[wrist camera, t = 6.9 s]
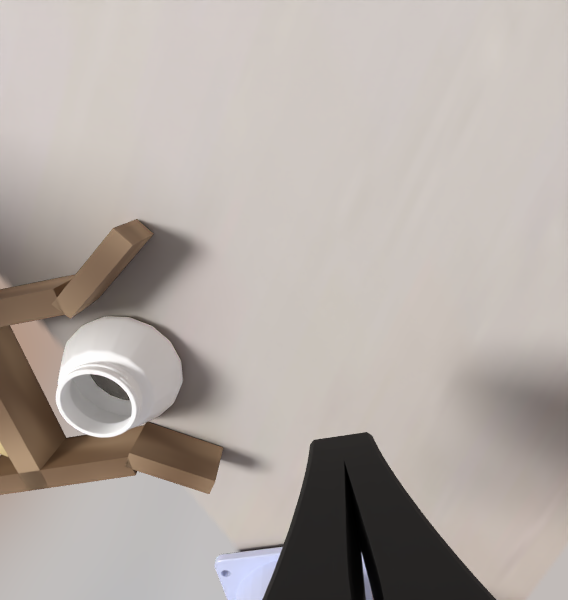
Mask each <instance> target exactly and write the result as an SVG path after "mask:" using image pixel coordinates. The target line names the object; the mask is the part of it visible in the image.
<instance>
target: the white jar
mask: <svg viewBox="0 0 568 600" xmlns="http://www.w3.org/2000/svg"><path fill="white" fill-rule="evenodd" d="M90 374H95V375H101V376H104V377H106V378H109V379H111V380H113V381H114V382H116V383H117V384H118V385H120V386H121V387H122V388H123V389H124V391H125V392H126V393H127V395H128V396H129V398H130V400H123V399H120V398H117V397H114V396H111V395H109V394H108V393H107V392H105V391H104V390H103V389H101V388H100V387H99V386H97V385H96V383H95V381H94V380H93V378H92V377H91V375H90ZM182 382H183V376H182V364H181V360H180V358H179V356H178V354H177V353H176V351H175V349H174V347H173V345H172V343H171V342H170V341H169V340H168V339H167V338H166V337H164V336H163V335H162V334H161V333H160V332H159V331H157V330H156V329H155V328H154V327H153V326H151V325H148V324H146V323H143V322H141V321H138V320H135V319H133V318H130V317H112V316H105V317H102V318H99V319H97V320H94V321H91V322H89V323H86V324H84V325H83V326H81V327H80V328H79V329H78V330H77V331H76V333H75V334H74V335H73V336H72V337H71V338H70V339H69V340H68V341H67V342H66V345H65V349H64V353H63V357H62V361H61V366H60V371H59V377H58V387H57V391H56V404H57V407H58V410H59V412H60V414H61V415H62V416H63V418H64V419H65V420H66V421H67V422H68V423H69V424H70V425H71V426H72V427H74V428H75V429H77V430H78V431H80V432H82V433H84V434H87V435H90V436H94V437H102V438H103V437H114V436H117V435H120V434H122V433H124V432H126V431H127V430H129V429H131V428H134V427H137V426H140V425H142V424H144V423H146V422H148V421H150V420H152V419H154V418H156V417H158V416H160V415H161V414H162V413H163V412H164V411H166V410H167V409H168V408H169V407H170V406H171V405H172V404H173V403H174V402H175V400H176V397H177V395H178V392H179V390H180V387H181V385H182Z"/></svg>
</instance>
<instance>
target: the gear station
mask: <svg viewBox="0 0 568 600" xmlns="http://www.w3.org/2000/svg"><path fill="white" fill-rule="evenodd" d="M152 235H153V233H152V232H151V231H150V230H149V229H148V228H146V227H145V226H144V225H143V224H142V223H141V222H140V221H139V220H137V219H136V220H133V221H131V222H128V223H125V224H123V225H120V226H117V227H115V228H113V229H112V230H111V231H110V233H109V234H108V235H107V236H106V238H105V239H104V240H103V241H102V243H101V244H100V245H99V246H98V247H97V249H96V250H95V251H94V252H93V254H92V255H91V256H90V257H89V259H88V260H87V261H86V262H85V264H84V265H83V266H82V267H81V268H80V270H79V271H78V272H77V273H76V274H75V275H70V276H65V277H60V278H55V279H50V280H45V281H40V282H35V283H30V284H25V285H20V286H15V287H10V288H5V289H0V454H2V455H1V456H0V495H3V494H9V493H16V492H24V491H30V490H37V489H44V488H51V487H58V486H64V485H72V484H79V483H86V482H92V481H99V480H106V479H113V478H120V477H127V476H134V475H136V473H137V471H139V472H143V473H146V474H149V475H152V476H155V477H158V478H161V479H164V480H167V481H170V482H173V483H176V484H180V485H183V486H186V487H189V488H192V489H195V490H198V491H201V492H204V493H207V494H210V491H211V489H212V487H213V485H214V483H215V480H216V476H217V472H218V467H219V463H220V459H221V455H222V451H223V447H220V446H217V445H214V444H211V443H208V442H205V441H202V440H199V439H196V438H193V437H190V436H188V435H185V434H182V433H179V432H176V431H173V430H170V429H167V428H164V427H161V426H158V425H155V424H152V423H149V422H146V424H145V426H139V427H134V428H131V429H129V430H127V431H126V432H124V433H122V434H120V435H117V436H114V437H103V438H102V437H94V436H90V435H81V436H76V437H69V438H66V436H65V435H64V433H63V431H62V429H61V427H60V424H59V423H58V421H57V418H56V416H55V415H54V412H53V411H52V409H51V407H50V405H49V403H48V401H47V399H46V397H45V395H44V393H43V391H42V389H41V387H40V385H39V383H38V381H37V379H36V377H35V375H34V373H33V371H32V369H31V367H30V365H29V363H28V361H27V359H26V357H25V355H24V353H23V351H22V349H21V347H20V345H19V343H18V341H17V339H16V337H15V335H14V333H13V331H12V329H11V327H10V325H13V324H19V323H24V322H29V321H34V320H40V319H45V318H50V317H55V316H61V315H66V316H67V317H69V318H70V319H71V318H72V317H74V316H75V315H77V314H78V313H79V312H81V311H82V310H84V309H85V308H86V307H88V306H89V305H91V304H92V303H93V302H95V301H96V300H98V299H99V297H100V296H101V295H102V294H103V293H104V292H105V290H106V289H107V288H108V287H109V286H110V284H111V283H112V282H113V281H114V280H115V279H116V277H117V276H118V275H119V274H120V273H121V272H122V270H123V269H124V268H125V267H126V266H127V265H128V263H129V262H130V261H131V260H132V259H133V258H134V256H135V255H136V254H137V253H138V252H139V251H140V249H141V248H142V247H143V246H144V245H145V244H146V242H147V241H148V240H149V239H150V238H151V237H152Z"/></svg>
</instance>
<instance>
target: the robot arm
mask: <svg viewBox="0 0 568 600" xmlns="http://www.w3.org/2000/svg"><path fill="white" fill-rule="evenodd" d="M215 569H216V572H217V574H218V577H219V579H220V582H221V584H222V587H223V589H224V592H225V595H226V597H227V600H373V598H374V600H496V599H495V598H494V597H493V596H492V595H491V593H490V592H489V591H488V590H487V589H486V588H485V587H484V586H483V585H482V584H481V583H480V582H479V580H478V579H477V578H476V577H475V576H474V575H473V574H472V573H471V571H470V570H469V569H468V568H467V567H466V566H465V565H464V563H463V562H462V561H461V560H460V559H459V558H458V556H457V555H456V554H455V553H454V552H453V550H452V549H451V548H450V547H449V546H448V544H447V543H446V542H445V541H444V540H443V538H442V537H441V536H440V535H439V534H438V532H437V531H436V530H435V529H434V527H433V526H432V525H431V524H430V522H429V521H428V520H427V518H426V517H425V516H424V515H423V513H422V512H421V511H420V509H419V508H418V507H417V505H416V504H415V503H414V501H413V500H412V499H411V497H410V496H409V494H408V493H407V492H406V490H405V489H404V488H403V486H402V485H401V483H400V482H399V480H398V479H397V478H396V476H395V474H394V473H393V471H392V470H391V468H390V467H389V465H388V464H387V462H386V461H385V459H384V457H383V456H382V454H381V452H380V450H379V449H378V447H377V445H376V443H375V441H374V439H373V436H372V435H370V434H369V433H367V432H365V433H358V434H351V435H345V436H338V437H331V438H324V439H318V440H314V441H313V442H312V443H311V444H310V450H309V457H308V463H307V468H306V472H305V477H304V481H303V484H302V488H301V492H300V496H299V499H298V502H297V506H296V509H295V512H294V515H293V519H292V522H291V525H290V528H289V531H288V534H287V537H286V540H285V542H284V545H283V547H277V548H269V549H260V550H252V551H244V552H236V553H228V554H222V555H219V556H217V558H216V560H215ZM371 591H372V592H371ZM372 594H373V598H372Z"/></svg>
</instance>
